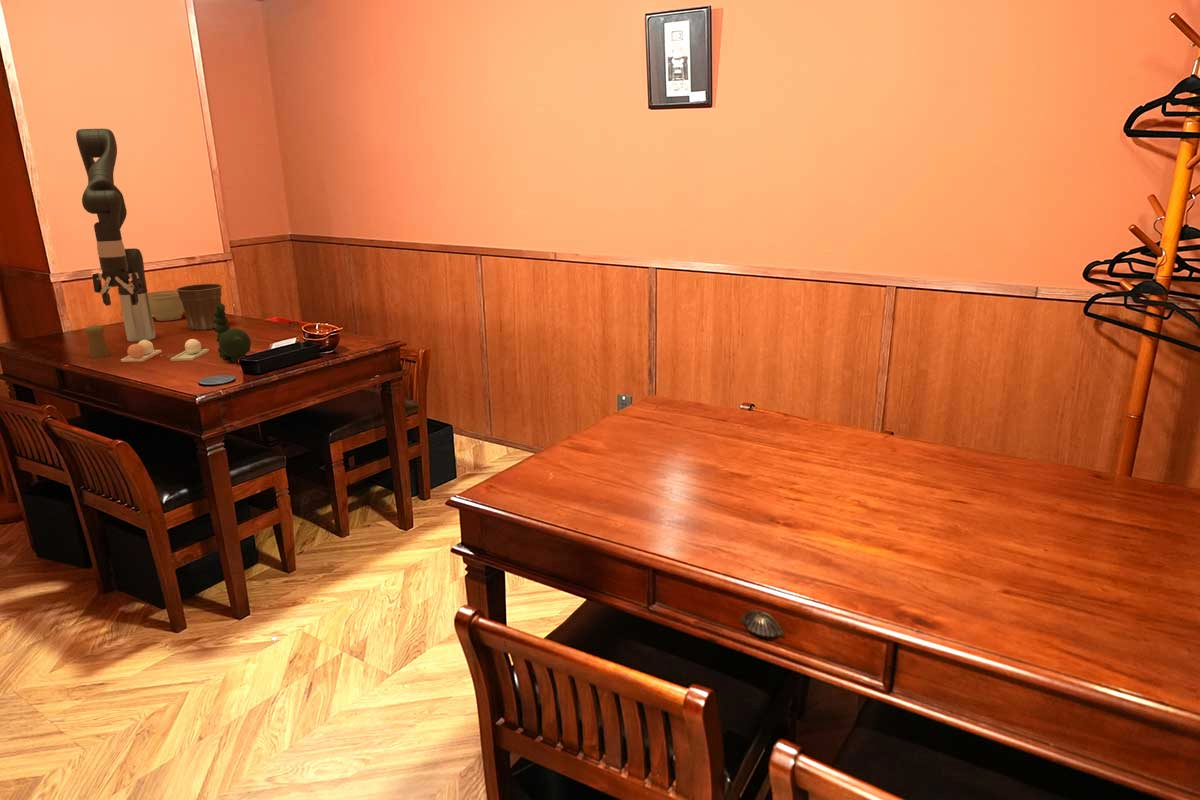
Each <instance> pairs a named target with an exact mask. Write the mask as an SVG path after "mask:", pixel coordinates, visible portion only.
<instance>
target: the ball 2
mask: <svg viewBox="0 0 1200 800" xmlns="http://www.w3.org/2000/svg"><path fill="white" fill-rule="evenodd" d="M137 342H138V343H137V344H139V345H141V346H142V347H143V348H144V350H145V353H144V355H147V354H150V353H151V352H152V351H153V350H154V345H153V343H152V342H151V340H141V341H137Z"/></svg>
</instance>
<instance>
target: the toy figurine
mask: <svg viewBox="0 0 1200 800" xmlns="http://www.w3.org/2000/svg"><path fill="white" fill-rule="evenodd" d="M216 309H217V310H216V311H215V312H214V313H213V315H214V316H215V317H216V318H215V319H214V320H213V322H214V323H215V324H216V325H217V326H216V328H215V329H213V331H214V332H215V333H217V334H216V342H218V348H217V352H218V353H219V357H220V358H221V359H223V360H226V361H227V360H228V359H229V358H230V360H231V362H232V363H236V364H240V363H239V362H238V359H239V358H240V357H243V356H245V357H246V355H247V353H249V352H250V351H251V347H252V342H251V341H252V340H251V337H250V336H249V334H247V332H246V331H244V330H242V329H240V328H231V327H230V326H229V324H228V318H227V316H226V307H225V304H224V303H222V302H221V303H220V304H218V305H217V307H216Z"/></svg>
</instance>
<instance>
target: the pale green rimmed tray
mask: <svg viewBox="0 0 1200 800" xmlns="http://www.w3.org/2000/svg"><path fill="white" fill-rule="evenodd" d="M208 352H210V349H209V348H203V349H202V348H201V349H200V351H199V352H198V353H195V354H191V353H189V352H187V351H186V350H184V351H182V352H180V353H178V354H175V355H173V356H171V357H169V358H170V361H171V362H173V361H174V362H175V361H179V362H181V361H193V360H195V359H197V358H198V357H201V356H202V355H204V354H207V353H208Z"/></svg>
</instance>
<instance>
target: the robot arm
mask: <svg viewBox="0 0 1200 800" xmlns="http://www.w3.org/2000/svg"><path fill="white" fill-rule="evenodd" d="M75 138H76V143H77V148H78V151H79V153H80V157H81V161H82V162H83V166H84V169H85V173H86V176H87V180H88V181H87V182H88V183H87V185H86V187H85V189H84V192H83V193H82V196H81V197H82V198H81V204H82V207H83V209H84V210H85V211H86V212H87V213H88V214H93V215H97V219H98V222H95V223H94V225H93V229H94V234H95V238H96V249H97V250H96V251H97V255H98V260H99V265H100V270H101V273H99V272H96V273H93V274H91V275H92V277H91V278H92V283H93V290H94V292H95V293H99V294H100V295H101V297H102V302H103V304H104V305H105V306H107V307H109V306H111V305H112V301H111V296H110V293H109V291H110V290H111V288H115V287H118V288H117V292H118V296H119V302H120V308H121V312H122V313H121V314H122V318H123V319H122V320H123V325H124V330H125V335H126V339H127V342H140V341H141V340H148V341H151V340H154V339H156V336H157V335H156V330H155V324H154V319H153V315H152V312H151V309H150V303H149V298H148V293H149V292H148V288H147V286H148V285H147V281H146V275H145V273H146V272H145V265H144V258H143V254H142V252H141V250H140V249H139V248H125V245H124V243H123V236H122V233H121V228H122V227H123V225H124V222H125V221H126V217H127V215H128V213H127V212H128V211H127V207H126V202H125V198H124V194H123V193H122V191H121V190H120V189H119V188H118V187H117V185H115V184H114V181H115V180H114V172H115V166H116V161H117V155H118V145H117V140H116V137H115V135H114V132H113V131H112V130H111V129H108V128H80V129H78V130H76V133H75ZM95 159H96V161H95ZM102 279H103V280H104V282H103V284H102Z"/></svg>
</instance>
